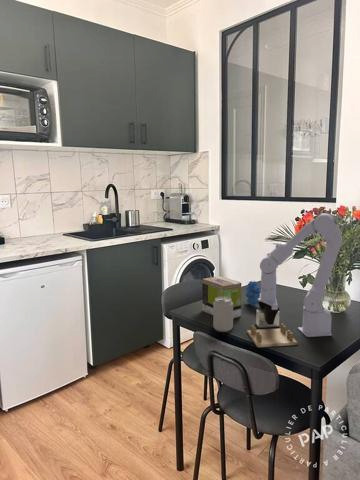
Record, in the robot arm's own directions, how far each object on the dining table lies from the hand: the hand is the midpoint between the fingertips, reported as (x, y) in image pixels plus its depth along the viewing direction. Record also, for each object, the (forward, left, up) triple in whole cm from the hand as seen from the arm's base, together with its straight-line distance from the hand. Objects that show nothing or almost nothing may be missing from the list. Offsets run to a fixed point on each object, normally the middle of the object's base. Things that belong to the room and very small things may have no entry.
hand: (267, 321), depth 139 cm
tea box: (+15, -15, -2) cm, 21 cm away
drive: (0, 0, -2) cm, 2 cm away
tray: (+3, +12, -2) cm, 12 cm away
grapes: (-2, -22, -2) cm, 22 cm away
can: (+18, +1, -2) cm, 18 cm away
